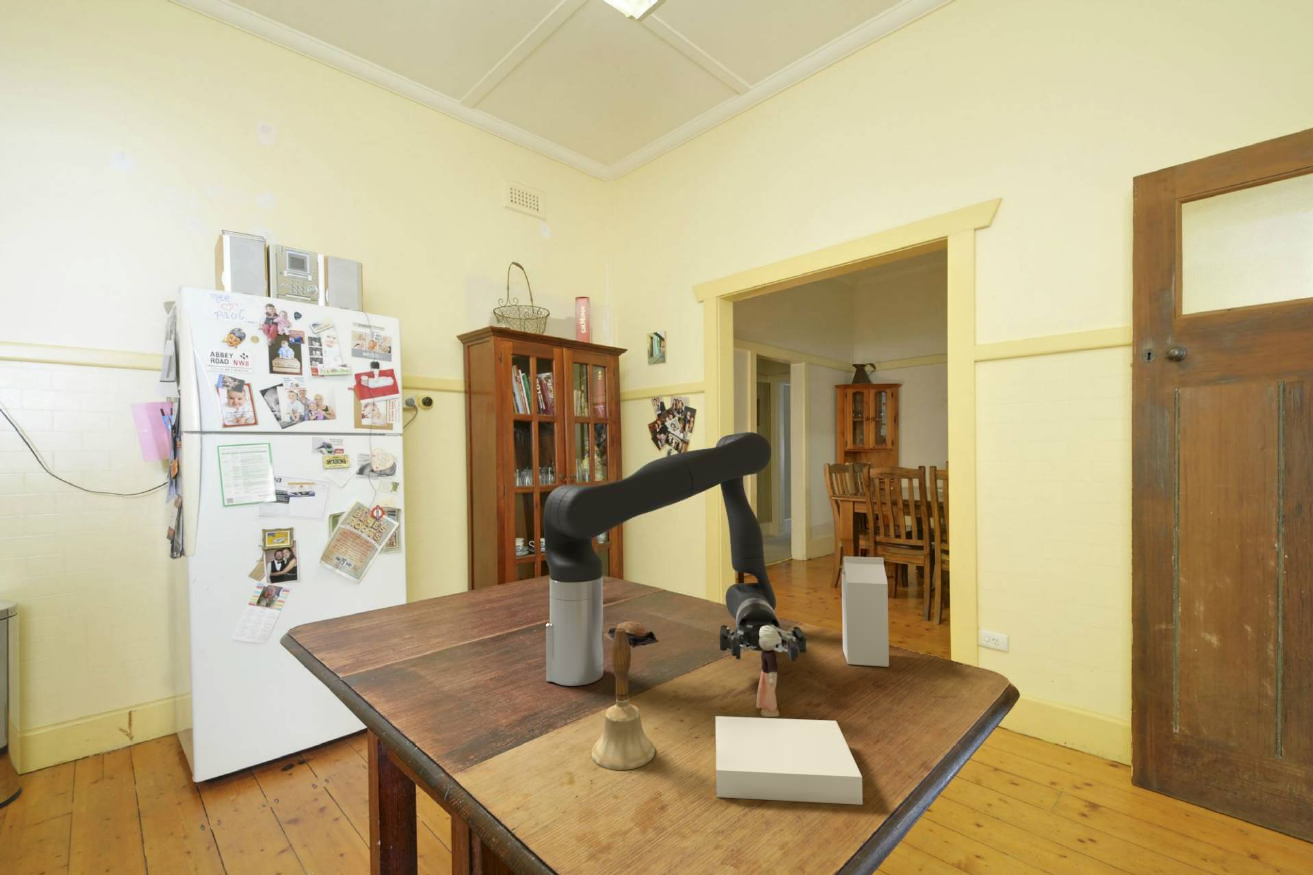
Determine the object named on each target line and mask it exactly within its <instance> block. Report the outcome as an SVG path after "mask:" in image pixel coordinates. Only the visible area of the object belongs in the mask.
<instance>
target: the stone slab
mask: <svg viewBox="0 0 1313 875" xmlns="http://www.w3.org/2000/svg"><path fill="white" fill-rule="evenodd" d="M715 771H716V772H715V776H716V777H715V778H716V779H715V780H716V782H715V784H716V786H715V787H716V797H717V798H729V799H730V798H732V799H747V800H748V799H749V800H750V799H751V800H767V801H784V802H785V801H786V802H787V801H788V802H802V803H803V802H805V803H809V802H810V803H825V804H826V803H827V804H828V803H829V804H844V805H863V804H864V803H863V776H862V774H861V771H860V769H859V768H858V765H857V763H856V761H855V759H854V757H853V755H852V752H851V750H850V747H849V746H848V743H847V742H846V739H845V737H844V735H843V733H842V730H841V728H840V726H839V724H838V722H837V720H827V719H826V720H825V719H823V720H822V719H821V720H819V719H802V718H801V719H800V718H799V719H797V718H796V719H795V718H775V717H745V716H744V717H743V716H720V715H719V716H718V715H717V716H716V715H715Z"/></svg>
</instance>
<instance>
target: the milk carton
mask: <svg viewBox="0 0 1313 875" xmlns="http://www.w3.org/2000/svg"><path fill="white" fill-rule="evenodd" d="M884 559H885V558H884V557H877V556H875V557H871V556H870V557H869V556H865V557H864V556H846V555H845V556H843V564H842V568H841V569H842V570H841V607H842V608H841V609H842V612H841V613H842V617H841V618H842V651H843V654H844V656H845V659H846V663H847V664H848V665H856V666H857V665H858V666H871V667H872V666H873V667H885V668H886V667H887V668H888V667H889V666H890V658H889V656H890V655H889V654H890V652H889V651H890V650H889V600H888V599H889V598H888V597H889V596H888V595H889V594H888V593H889V589H888V583H889V582H888V578H887V574H886V568H885V561H884Z"/></svg>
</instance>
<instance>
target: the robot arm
mask: <svg viewBox="0 0 1313 875" xmlns="http://www.w3.org/2000/svg"><path fill="white" fill-rule="evenodd" d="M770 444H771V443H770V442H769V441H768V439H766V437H764V435H762V434H759V433H757V432H752V431H751V432H750V431H745V432H739V433H734V434H727V435H724V436H722V437H721V438H720V439H719V440H718V441H717V443H716V444H715V447H708V448H702V449H701V448H700V449H694V450H688V451H682V452H678V453H673V454H670V455H667V456H663V457H661V458H658V459H654V460H653V461H650V462H648V463H645V465H643V466H642V467H640V468H639V469H637V471H635V472H634V473H632V474H631V475H629V476H628V477H625V478H622V479H619V480H615V481H612V482H611V481H610V482H607V483H602V484H597V485H582V484H581V485H580V484H563V485H560V486H557V487H556V488H554V489H553V490H552V491H551V492H550V493H549V495H548V497H547V498H546V501H545V505H544V511H543V533H544V534H543V535H544V536H543V537H544V538H543V539H544V556H545V559H546V564H547V566H548V569H549V570H548V571H549V622H548V623H547V624H546V625H545V626H546V627H545V639H546V640H545V646H546V647H545V654H546V655H545V665H546V666H545V667H546V668H545V674H546V676H545V681H546V682H552V683H555V684H557V685H561V686H569V687H570V686H571V687H574V686H575V687H577V686H583V685H584V686H586V685H589V684H592V683H596V682H597V681H599V680H601V678H602V677H603V676H604V602H603V601H604V594H603V593H604V592H603V591H604V588H603V586H604V584H603V581H604V580H603V574H604V573H603V572H604V570H603V569H604V568H603V561H602V559H601V557H600V556H599V555H598V553H597V552H596V551H595V550H594V547H593V543H592V539H594V538H597V537H599V536H601V535H603V534H604V533H607V532H608V531H611V530H612V529H614V528H617V526H619V525H621V524H623V523H626V522H627V521H629V520H632V519H633V518H635V517H639V516H641V515H645V514H648V513H651V512H654V511H657V510H660V509H662V508H665V507H668V506H673V505H674V504H677V503H679V502H683V501H685V500H687V499H689V498H692V497H694V496H696V495H698V494H701V493H703V492H706V491H708V490H710V489H712V488H714V487H716V486H718V485H720V489H721V490H720V491H721V494H722V500H723V503H724V507H725V511H726V516H727V517H726V518H727V522H728V530H729V531H728V532H729V543H730V544H729V545H730V555H731V558H730V559H731V567H732V569H733V570H734V571H735V572H736V573H742V574H747V575H751V576H754V577H755V579H756V581H757V582H741V583H740V582H739V583H733V584H732V585H730V586H729V587H728V588H727V589H726V594H725V605H726V608H727V610H728V612H729V614H730V616H731V618H733V619H734V620H735V622H736V624H735V626H736V629H731V628H730V627H728V625H726V624H722V625H720V630H719V650H720V651H723V652H724V651H727V650H728V649H729V650H730V654H731V656H732V657H735V659H736V660H741V656H742V655H741V652H746V651H749V650H752V651H756V652H762V651H763V649H762V648H761V647H760V644H759V639H760V636H759V631H760V628H761V627H763V626H770V627H772V628H773V629H775V630H776V631H777V632H778V634H779V636H780V637H781V643H780V644H776V647H775V648H774V649H773V650H774V651H776V652H779V653H783V652H785V653H787V654H788V658H789V660H790V661H791V662H795V661H796V659H798V658H800V653H802V654H805V653H807V636H806V634H805V633H804V631H803V630H802V629H801V627H798V626H793V627H792V629H791V630H789V631H786V630H785V629H784V628H783V627H781V626H780V623H779V620H778V617H777V615H776V613H775V610H776V606H777V600H776V595H775V592H774V589H773V586H772V585H771V581H770V579H769V576H768V573H767V567H766V564H765V563H766V562H765V552H764V541H763V540H764V539H763V533H762V528H761V526H760V523H759V521H758V519H757V517H756V515H755V512H754V511H753V509H752V507H751V505H750V503H749V500H748V498H747V495H746V491H745V486H744V477H746V476H751V475H755V474H759V473H761V472H762V471H763V470H764V469H766V468H767V467H768V465H769V463H770V460H771V458H772V457H771V456H772V447H771V445H770Z"/></svg>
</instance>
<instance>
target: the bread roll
mask: <svg viewBox="0 0 1313 875" xmlns="http://www.w3.org/2000/svg"><path fill="white" fill-rule="evenodd" d="M617 628H624V629H625V631H626V635H627V638H628V640H629V644H630V647H632V648H635V647H636V648H637V647H641V646H645V645H650V644H654V643H655V642H658V639H657V637H656V635H655V634H654V631H651V630H650V631H649V630H648V629H647V628H646V627H645V626H644V625H643V624H642V623H640V622H638V621H635V620H634V621H633V620H628V621H624V622H620V623H619V624H617V625H616V627H611V628H610V629H609V630H608V631H607V632H605V633H603V637H605V638H607V639H609V640H611V641H612V642H613V639H614V636H615V630H616V629H617Z"/></svg>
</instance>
